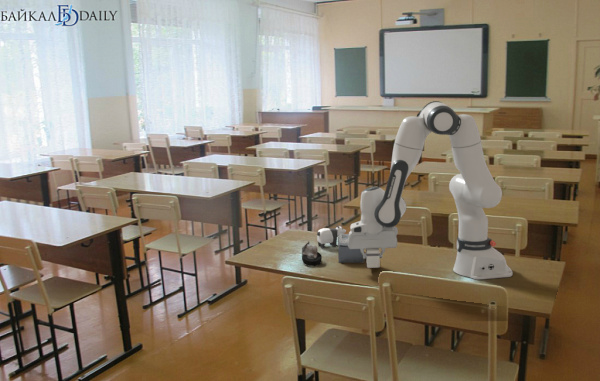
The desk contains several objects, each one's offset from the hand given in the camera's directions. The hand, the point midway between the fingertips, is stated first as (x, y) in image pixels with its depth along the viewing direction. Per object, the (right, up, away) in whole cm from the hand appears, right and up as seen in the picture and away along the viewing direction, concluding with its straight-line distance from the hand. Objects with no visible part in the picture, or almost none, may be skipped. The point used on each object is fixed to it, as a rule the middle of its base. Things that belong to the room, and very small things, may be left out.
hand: (372, 258), depth 223 cm
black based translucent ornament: (-25, -3, +12) cm, 28 cm away
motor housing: (-8, -2, +17) cm, 18 cm away
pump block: (0, -3, +1) cm, 3 cm away
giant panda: (-16, +2, +33) cm, 36 cm away
